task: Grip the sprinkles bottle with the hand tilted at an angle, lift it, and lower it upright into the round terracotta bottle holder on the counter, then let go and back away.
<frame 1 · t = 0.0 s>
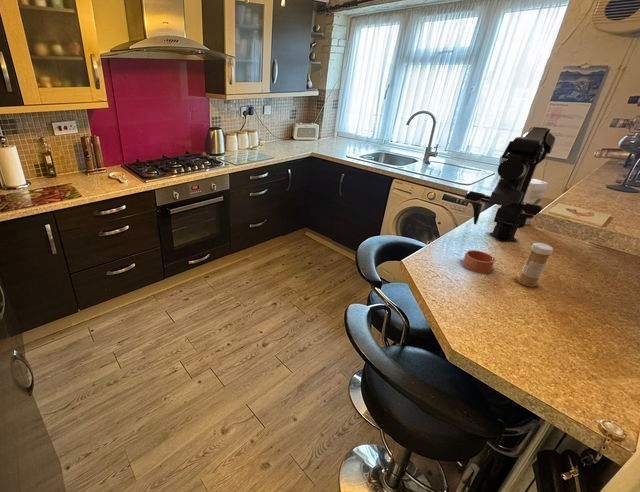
hand: (491, 229, 101), 15 cm above the countertop, tool pointing down, fingers open, 9 cm apart
juice carton: (517, 222, 142), on the countertop
holder: (476, 266, 110), on the countertop
sprinkles bottle: (526, 283, 101), on the countertop
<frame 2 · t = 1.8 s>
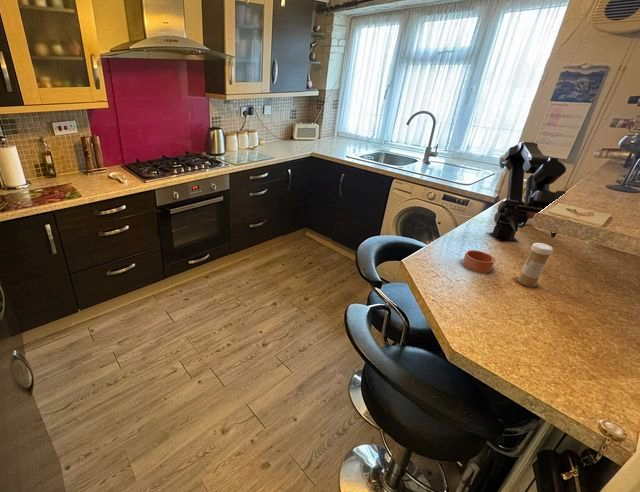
hand: (534, 234, 102), 13 cm above the countertop, tool tilted 45°, fingers open, 9 cm apart
nothing on the countertop moved.
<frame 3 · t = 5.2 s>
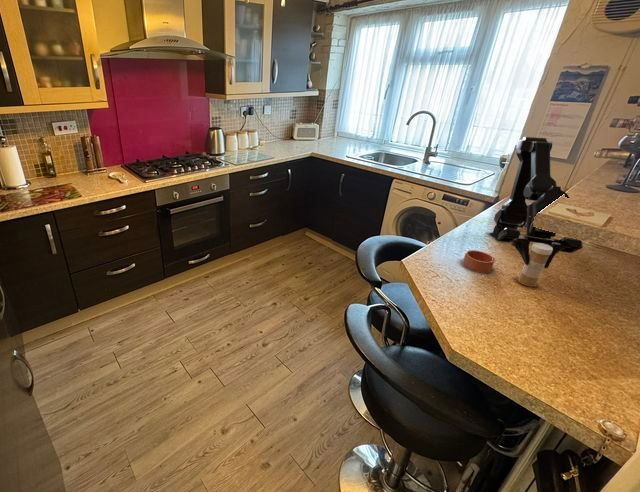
hand: (536, 266, 97), 7 cm above the countertop, tool tilted 45°, fingers closed on sprinkles bottle, 4 cm apart
sprinkles bottle: (526, 283, 101), on the countertop, touching gripper
everything else where it was.
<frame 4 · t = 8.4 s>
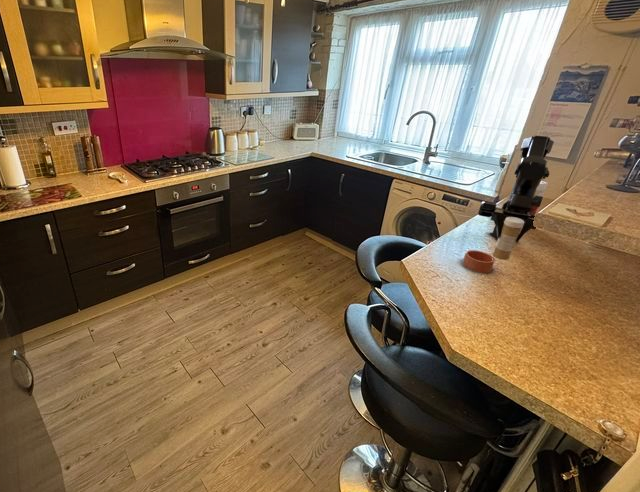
hand: (507, 239, 100), 13 cm above the countertop, tool tilted 45°, fingers closed on sprinkles bottle, 4 cm apart
sprinkles bottle: (500, 257, 104), point 6 cm above the countertop, touching gripper
everything else where it was.
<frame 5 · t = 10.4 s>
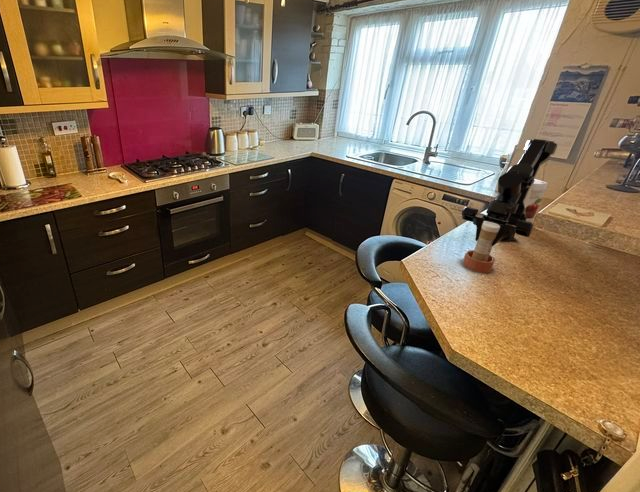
hand: (484, 242, 105), 10 cm above the countertop, tool tilted 45°, fingers closed on sprinkles bottle, 4 cm apart
sprinkles bottle: (478, 260, 109), point 2 cm above the countertop, touching gripper
everything else where it was.
when the fingers open (8 cm above the countertop, at t = 11.5 s): sprinkles bottle stays where it is, resting on holder.
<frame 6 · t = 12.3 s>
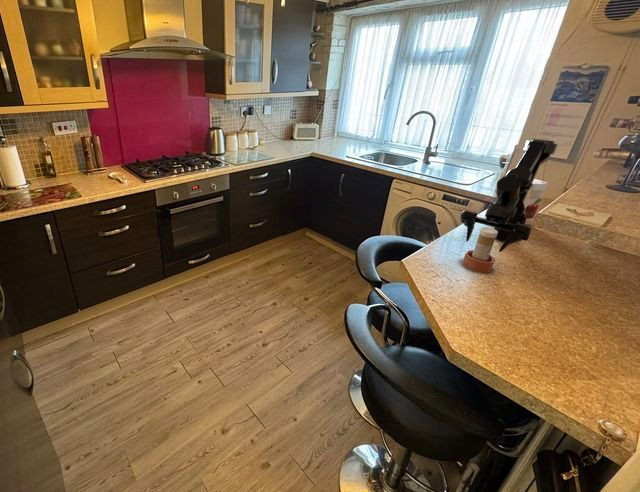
hand: (482, 246, 105), 8 cm above the countertop, tool tilted 45°, fingers open, 9 cm apart
sprinkles bottle: (476, 265, 110), resting on holder
everything else where it was.
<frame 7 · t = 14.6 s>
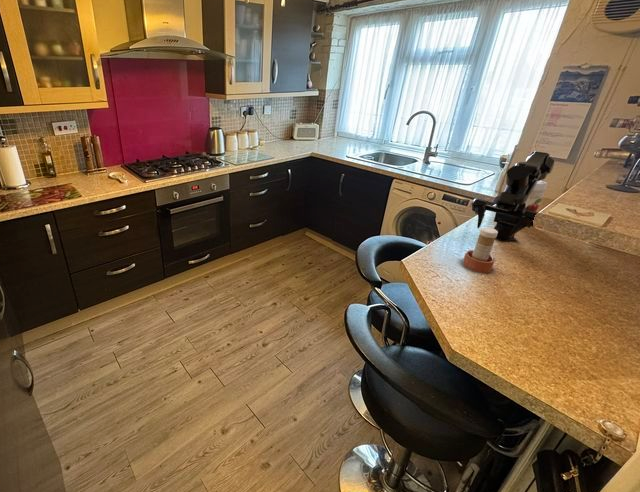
hand: (493, 232, 111), 10 cm above the countertop, tool tilted 45°, fingers open, 9 cm apart
nothing on the countertop moved.
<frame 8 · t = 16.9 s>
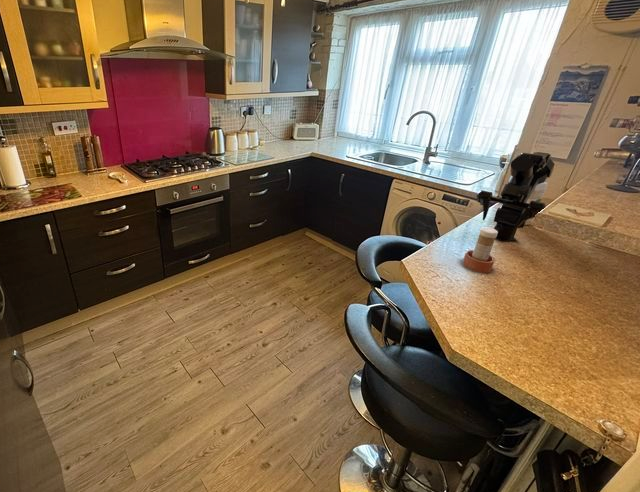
hand: (498, 223, 112), 12 cm above the countertop, tool tilted 40°, fingers open, 9 cm apart
juice carton: (517, 222, 142), on the countertop, touching arm
everything else where it was.
at the end: sprinkles bottle 0.2 cm off-centre in the holder, point 0.3 cm above the holder's base; sprinkles bottle tilted 0°; sprinkles bottle touching holder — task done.
